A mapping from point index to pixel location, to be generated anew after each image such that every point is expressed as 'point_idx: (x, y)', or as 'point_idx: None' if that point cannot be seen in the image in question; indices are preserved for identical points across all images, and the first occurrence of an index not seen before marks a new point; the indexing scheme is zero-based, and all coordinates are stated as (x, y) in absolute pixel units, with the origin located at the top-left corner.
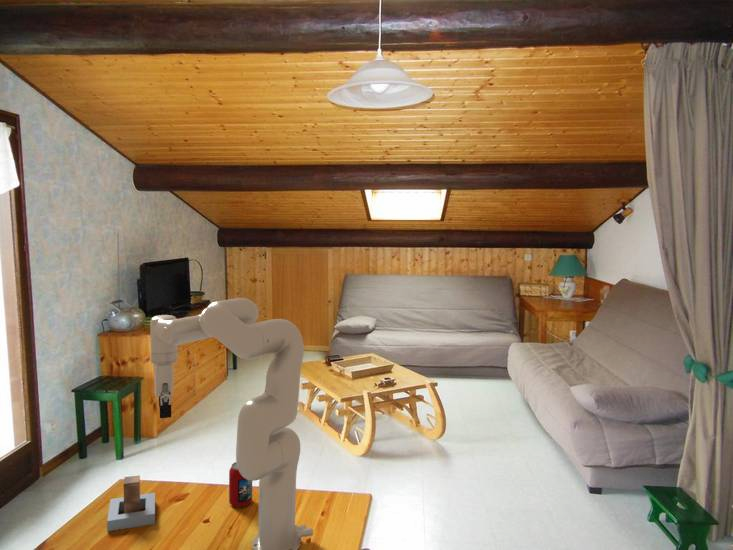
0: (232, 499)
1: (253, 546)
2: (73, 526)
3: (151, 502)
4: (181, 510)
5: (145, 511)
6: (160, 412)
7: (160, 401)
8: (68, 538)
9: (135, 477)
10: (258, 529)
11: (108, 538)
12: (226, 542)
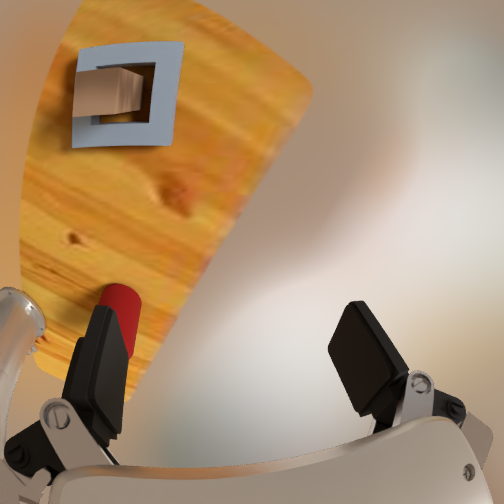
0: (104, 294)
1: (7, 290)
2: None
3: (122, 137)
4: (117, 196)
5: (86, 126)
6: (85, 342)
7: (74, 435)
8: None
9: (103, 102)
10: (4, 311)
11: (65, 60)
12: (21, 259)
